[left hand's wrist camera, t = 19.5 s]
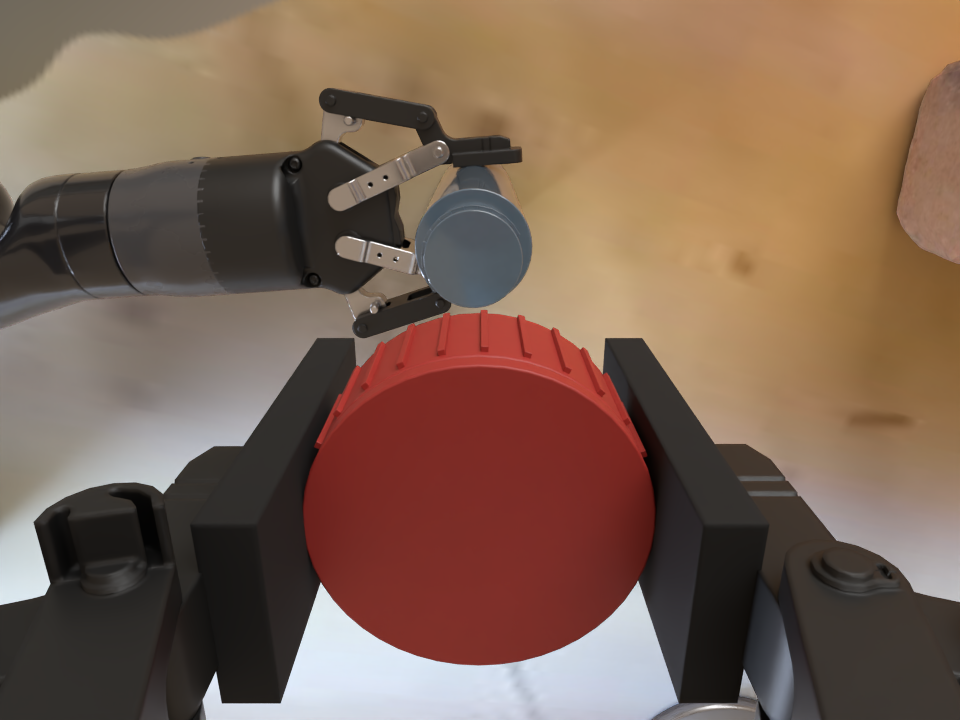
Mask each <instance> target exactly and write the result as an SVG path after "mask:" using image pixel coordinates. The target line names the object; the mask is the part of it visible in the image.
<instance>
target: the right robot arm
mask: <svg viewBox="0 0 960 720" xmlns="http://www.w3.org/2000/svg"><path fill="white" fill-rule="evenodd" d="M319 103H320V106H321V108H322V109H323V110H324V111H323V123H322V134H321V141H318V142H316V143H314V144H313V145H312V146H310V147H309V148H307V149H305V150H303V151H294V152H281V153H269V154H256V155H244V156H231V157H220V158H209V157H195V158H193V159H190V160H180V161H170V162H163V163H158V164H154V165H150V166H146V167H141V168H135V169H128V170H117V171H104V172H92V173H75V174H64V175H55V176H50V177H45V178H42V179H40V180H37V181H35V182H33V183H31V184H30V185H29V186H28V187H26V189H25V190H24V191H23V192H22V193H21V195H20V196H19V198H18V199H17V201H16V203H15V206H14V205H13V201H12V199H11V197H10V195H9V193H8V192H7V190H6V189H5V187H4V186H3V185H2V184H1V182H0V330H2V329H4V328H7V327H10V326H12V325H15V324H18V323H20V322H23V321H25V320H28V319H30V318H33V317H36V316H38V315H41V314H44V313H47V312H50V311H54V310H57V309H60V308H63V307H66V306H69V305H72V304H75V303H78V302H82V301H86V300H95V299H107V298H121V297H134V296H148V295H166V296H181V297H196V296H211V295H225V294H238V293H252V292H266V291H280V290H294V289H307V288H326V289H329V290H332V291H334V292H336V293H339V294H344V295H345V297H346V300H347V302H348V304H349V307H350V309H351V312H352V314H353V316H354V319H355V321H354V323H353V326H352V329H353V332H354V334H355V335H356V336H358V337H360V338H367V337H370V336H373V335H376V334H379V333H383V332H386V331H389V330H392V329H395V328H398V327H401V326H404V325H408V324H411V323H414V322H417V321H420V320H423V319H426V318H429V317H432V316H436V315H439V314H442V313H445V312H447V311H448V310H449V309H450V307H451V302H449V301H447V300H445V299H444V298H443V297H441V296H440V295H439V294H438V293H437V292H433V291H432V289H431V288H430V286H428V287H425V288H422V289H419V290H416V291H413V292H410V293H407V294H403V295H400V296H397V297H394V298H391V299H388V300H387V298H386V296H385V295H384V294H382V293H369V292H366V291H365V290H364V289H363V288H362V286H363V285H365V284H366V283H367V282H368V281H369V280H370V279H371V278H373V277H374V276H375V275H376V274H377V273H378V272H380V271H381V270H382V269H383V268H388V269H392V270H396V271H399V272H403V273H407V274H419V275H422V273H421V271H420V269H419V267H418V264H417V260H416V255H415V240H413V239H409V238H406V237H405V235H404V226H403V223H402V220H401V218H400V215H399V212H398V209H399V202H400V191H399V184H401V183H403V182H405V181H407V180H409V179H411V178H413V177H415V176H417V175H419V174H421V173H423V172H426V171H428V170H430V169H432V168H434V167H436V166H439V165H442V164H453V168H457V167H469V166H483V165H495V164H508V163H519V162H522V148H521V147H510V139H509V138H507V137H504V136H501V135H493V136H481V137H468V138H451V137H449V136H448V135H446V134H445V132H444V131H443V129H442V127H441V124H440V122H439V120H438V118H437V113H436V111H435V109H434V108H433V107H431V106H429V105H424V104H419V103H414V102H408V101H403V100H397V99H392V98H387V97H381V96H376V95H370V94H365V93H359V92H354V91H349V90H343V89H335V88H327V89H325V90H323V91H322V92H321V94H320V97H319ZM365 120H370V121H376V122H381V123H387V124H392V125H398V126H403V127H409V128H414V129H416V131H417V133H418V135H419V137H420V139H421V142H422V144H423V146H420V147H418V148H416V149H414V150H412V151H410V152H408V153H405V154H403V155H401V156H399V157H397V158H394V159H392V160H390V161H388V162H386V163H384V164H382V165H380V166H379V165H378V164H376V163H374V162H373V161H371V160H370V159H368V158H366V157H365V156H363V155H361V154H360V153H358V152H357V151H355V150H353V149H352V148H350V147H349V146H347V145H345V144H344V143H342V142H341V140H342V137H343V136H344V134H346V133H347V132H355V131H359V130H360V129H361V128H362V127H363V126H364V123H365ZM401 247H403V248H401ZM395 257H396V258H398V260H396V259H395Z"/></svg>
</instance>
